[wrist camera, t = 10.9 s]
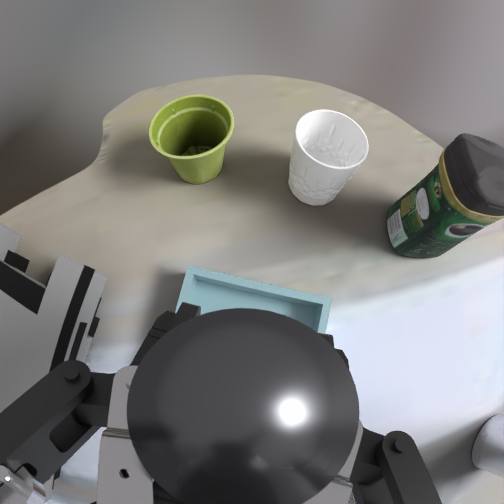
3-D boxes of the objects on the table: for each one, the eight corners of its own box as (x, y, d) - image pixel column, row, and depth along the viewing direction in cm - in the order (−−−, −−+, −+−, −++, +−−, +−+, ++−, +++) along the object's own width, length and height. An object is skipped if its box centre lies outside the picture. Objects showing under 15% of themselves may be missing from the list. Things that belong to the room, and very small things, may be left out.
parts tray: (322, 303, 34) (331, 298, 30) (293, 429, 30) (299, 439, 26) (193, 273, 35) (188, 264, 31) (162, 399, 30) (152, 405, 27)
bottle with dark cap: (290, 340, 17) (379, 332, 6) (272, 415, 16) (324, 525, 4) (212, 322, 17) (154, 282, 6) (194, 397, 16) (114, 483, 5)
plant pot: (223, 204, 37) (218, 166, 29) (154, 188, 38) (134, 150, 29) (243, 145, 40) (244, 101, 32) (179, 133, 40) (168, 90, 32)
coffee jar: (436, 208, 39) (515, 139, 21) (444, 260, 36) (539, 208, 18) (380, 201, 38) (453, 115, 21) (386, 258, 36) (480, 193, 18)
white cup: (285, 154, 40) (296, 103, 30) (341, 163, 40) (365, 117, 30) (280, 205, 38) (293, 161, 28) (342, 214, 38) (371, 175, 28)
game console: (120, 283, 34) (90, 266, 27) (63, 489, 25) (33, 510, 18) (16, 233, 36) (-17, 213, 28) (-29, 413, 27) (-62, 416, 19)
